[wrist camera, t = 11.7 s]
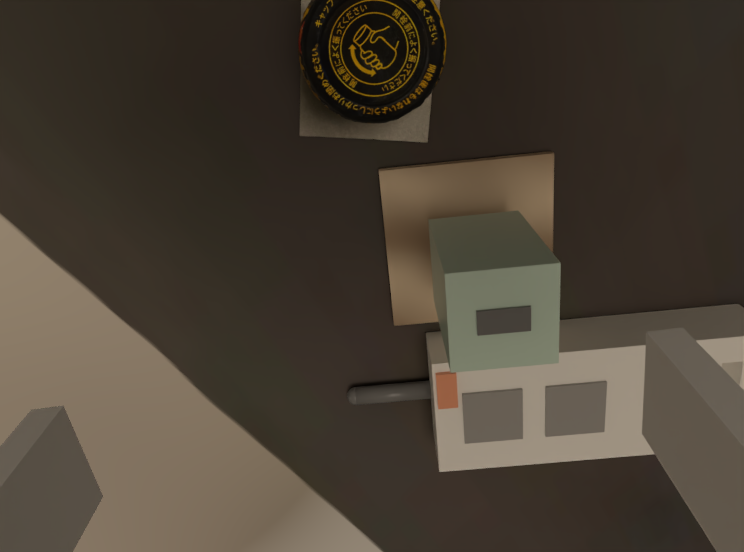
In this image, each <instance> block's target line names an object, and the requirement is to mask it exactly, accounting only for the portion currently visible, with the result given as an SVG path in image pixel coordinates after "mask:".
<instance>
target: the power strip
mask: <svg viewBox="0 0 744 552" xmlns="http://www.w3.org/2000/svg"><path fill="white" fill-rule="evenodd" d="M682 327H683V328H684V329H685V330H686V331H687V332H688V333H689V334H690V335H691V336H692V337H693V338H694V339H695V341H696V342H697V343H698V344H699V345H700V346H701V347H702V348H703V349H704V350H705V351H706V352H707V353H708V354H709V355H710V356H711V357H712V358H713V359H714V360H715V361H716V362H717V363H718V364H719V365H720V366H721V367H722V368H723V369H724V370H725V371H726V372H727V373H728V375H729V376H730V377H731V378H732V379H733V380H734V381H735V382H736V383H737V384H738V385H739V386H740V387H741V388H742V389H743V390H744V308H743V307H742V306H740V305H739V304H730V305H719V306H708V307H697V308H686V309H675V310H664V311H653V312H642V313H632V314H621V315H610V316H599V317H588V318H577V319H566V320H560V324H559V363H555V364H544V365H533V366H521V367H510V368H499V369H488V370H477V371H465V372H454V373H450V368H449V364H448V360H447V355H446V351H445V347H444V342H443V338H442V334H441V331H436V332H426V343H427V356H428V369H429V381H418V382H406V383H395V384H384V385H372V386H361V387H353V388H351V389H350V390H349V392H348V394H347V398H348V401H349V402H350V403H351V404H353V405H364V404H376V403H387V402H399V401H410V400H421V399H431V407H432V420H433V433H434V440H435V446H436V452H437V459H438V465H439V472H445V471H457V470H469V469H481V468H493V467H505V466H517V465H529V464H541V463H554V462H566V461H578V460H590V459H602V458H614V457H626V456H638V455H650V454H654V452H653V450H652V449H651V447H650V446H649V444H648V443H647V441H646V439H645V438H644V436H643V435H642V419H643V397H644V375H645V353H646V332H650V331H658V330H666V329H674V328H682Z"/></svg>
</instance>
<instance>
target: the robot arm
mask: <svg viewBox="0 0 744 552" xmlns="http://www.w3.org/2000/svg"><path fill="white" fill-rule="evenodd" d="M642 435H643V436H644V438H645V439H646V441H647V443H648V444H649V446H650V447H651V449H652V450H653V452H654V454H655V455H656V457H657V458H658V460H659V461H660V463H661V465H662V466H663V468H664V469H665V471H666V473H667V474H668V476H669V477H670V479H671V480H672V482H673V484H674V485H675V487H676V488H677V490H678V491H679V493H680V495H681V496H682V498H683V499H684V501H685V503H686V504H687V506H688V507H689V509H690V510H691V512H692V514H693V515H694V517H695V518H696V520H697V521H698V523H699V525H700V526H701V528H702V529H703V531H704V533H705V534H706V536H707V537H708V539H709V540H710V542H711V544H712V545H713V547H714V548H715V550H716V551H717V552H744V390H743V389H742V388H741V387H740V386H739V385H738V384H737V383H736V382H735V381H734V380H733V379H732V378H731V377H730V376H729V375H728V373H727V372H726V371H725V370H724V369H723V368H722V367H721V366H720V365H719V364H718V363H717V362H716V361H715V360H714V359H713V358H712V357H711V356H710V355H709V354H708V353H707V352H706V351H705V350H704V349H703V348H702V347H701V346H700V345H699V344H698V343H697V342H696V341H695V339H694V338H693V337H692V336H691V335H690V334H689V333H688V332H687V331H686V330H685V329H684V328H683V327H682V328H674V329H666V330H658V331H650V332H646V353H645V375H644V397H643V419H642ZM102 497H103V495H102V493H101V491H100V488H99V486H98V484H97V482H96V479H95V477H94V475H93V473H92V470H91V468H90V466H89V463H88V461H87V459H86V456H85V454H84V452H83V450H82V447H81V445H80V443H79V441H78V438H77V436H76V434H75V431H74V429H73V427H72V425H71V422H70V420H69V418H68V415H67V413H66V411H65V409H64V407H63V406H58V407H50V408H42V409H34V410H31V411H30V412H29V413H28V414H27V416H26V417H25V418H24V419H23V420H22V421H21V423H20V424H19V425H18V426H17V428H16V429H15V430H14V431H13V432H12V433H11V435H10V436H9V437H8V438H7V439H6V440H5V442H4V443H3V444H2V445H1V446H0V552H73V550H74V548H75V547H76V545H77V543H78V541H79V539H80V537H81V536H82V534H83V532H84V530H85V528H86V527H87V525H88V523H89V521H90V519H91V517H92V516H93V514H94V512H95V510H96V508H97V506H98V505H99V503H100V501H101V499H102Z"/></svg>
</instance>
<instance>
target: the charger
mask: <svg viewBox="0 0 744 552" xmlns="http://www.w3.org/2000/svg"><path fill="white" fill-rule="evenodd" d="M428 224H429V238H430V252H431V267H432V281H433V295H434V303H435V308H436V312H437V316H438V321H439V325H440V329H441V334H442V338H443V342H444V347H445V351H446V355H447V360H448V364H449V368H450V373H454V372H465V371H477V370H488V369H499V368H510V367H521V366H533V365H544V364H555V363H559V324H560V272H561V263H560V261H559V260H558V259H557V258H556V256H555V255H554V254H553V253H552V252H551V250H550V249H549V248H548V247H547V245H546V244H545V243H544V242H543V240H542V239H541V238H540V237H539V235H538V234H537V233H536V232H535V230H534V229H533V228H532V227H531V226H530V224H529V223H528V222H527V221H526V219H525V218H524V217H523V216H522V214H521V213H520V212H519V211H508V212H498V213H488V214H478V215H468V216H457V217H447V218H437V219H428Z"/></svg>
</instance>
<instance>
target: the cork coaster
mask: <svg viewBox="0 0 744 552" xmlns="http://www.w3.org/2000/svg"><path fill="white" fill-rule="evenodd" d="M379 179H380V189H381V199H382V209H383V219H384V229H385V239H386V250H387V260H388V270H389V280H390V290H391V300H392V310H393V320H394V326H398V325H409V324H420V323H431V322H439V321H438V316H437V312H436V308H435V303H434V295H433V281H432V267H431V252H430V238H429V224H428V219H437V218H447V217H457V216H468V215H478V214H488V213H498V212H508V211H519V212H520V213H521V214H522V216H523V217H524V218H525V219H526V221H527V222H528V223H529V224H530V226H531V227H532V228H533V229H534V230H535V232H536V233H537V234H538V235H539V237H540V238H541V239H542V240H543V242H544V243H545V244H546V245H547V247H548V248H549V249H550V250H551V252H552V253H553V201H554V153H553V152H552V151H549V152H539V153H529V154H519V155H510V156H500V157H490V158H480V159H471V160H461V161H451V162H441V163H432V164H422V165H412V166H402V167H393V168H383V169H379Z"/></svg>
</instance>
